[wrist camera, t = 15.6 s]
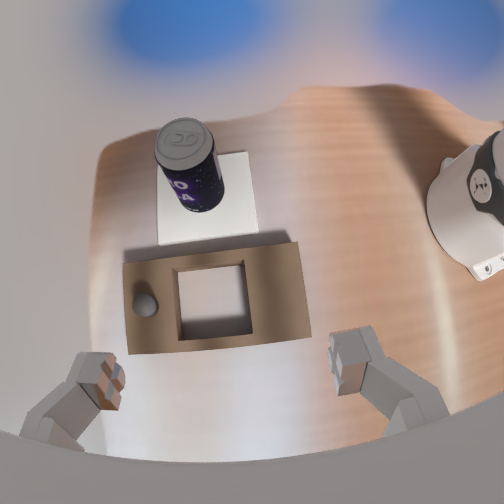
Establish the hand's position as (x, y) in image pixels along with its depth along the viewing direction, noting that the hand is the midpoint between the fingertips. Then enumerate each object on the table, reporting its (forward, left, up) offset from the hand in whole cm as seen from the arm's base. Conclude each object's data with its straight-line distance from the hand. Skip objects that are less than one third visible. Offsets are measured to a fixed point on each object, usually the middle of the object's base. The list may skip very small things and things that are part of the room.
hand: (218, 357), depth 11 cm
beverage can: (+3, -18, -23) cm, 30 cm away
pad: (+3, -18, -24) cm, 30 cm away
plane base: (+3, -5, -24) cm, 25 cm away
